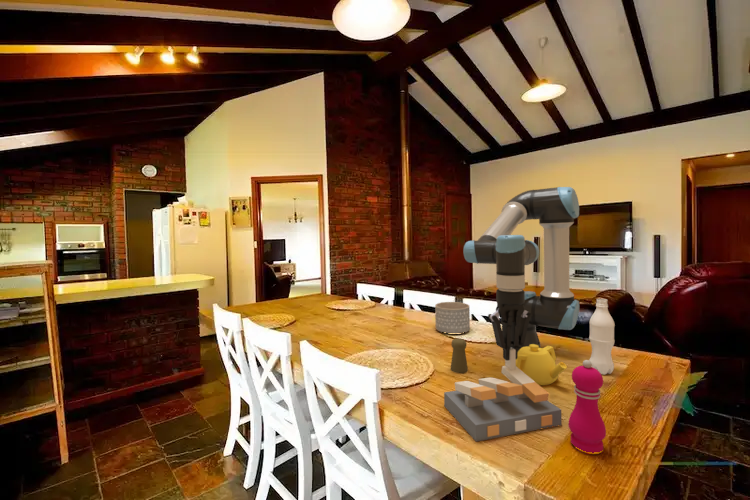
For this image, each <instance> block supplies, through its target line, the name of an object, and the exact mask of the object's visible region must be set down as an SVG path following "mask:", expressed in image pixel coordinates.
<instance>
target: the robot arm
mask: <svg viewBox="0 0 750 500" xmlns="http://www.w3.org/2000/svg"><path fill="white" fill-rule="evenodd" d="M579 216H580V203H579V198H578V194H577V191H576V190H575V189H574V187H572V186H557V187H550V188H549V187H548V188H540V189H529V190H526V191H523V192H520V193H519V194H517V195H515V196H514V197H512V198H511V199H509V200H508V201H507V202H506V203H505V204H504V205H503V207H502V208H501V213H500V214H499V215H498V216H497V217H496V219H494V221H493V222H492V223H491V224H490V225H489V227H488V228H487V229H486V230H485V231H484V233H482V235H481V236H480V237H479V238H478V240H475V239H473V240H468V241H466V242H465V243H464V245H463V250H462V251H463V257H464V259H465V261H466V262H467V263H472V264H476V265H477V264H478V265H479V264H480V265H481V264H482V265H483V264H486V265H487V264H488V265H495V267H496V270H495V271H496V275H495V276H496V278H495V279H496V282H495V284H496V288H497V289H496V291H495V293H496V296H495V298H496V299H495V300H496V304H497V305H496V308H495V311H494V312H492V313H489V314H488V316H487V317H488V318H489V321H491V326H492V330H493V335H494V339H495V343H496V344H495V345H496V346H497V347H500V348H502V358H503V359H504V366H506V367H508V368H509V369H510V370H516V359H517V358H518V351H519V350H520V349H521V348H522V347H526V346H529V345H530V344H535V345H538V346H539V348H542V347H541V346H542V345H541V342H540V338H539V336H538V333H537V326H539V327H546V328H552V329H558V330H565V331H571V330H573V329H574V328H575V326H576V324H577V321H578V317H579V312H580V301H579V300H578V299H575V293H573V292H572V291H571V290H570V227H571V226H572V225H573V224H574V223H575V221H574V220H575V219H577V218H578V217H579ZM529 220H539V221H538V223H539V226H541V227H542V229H543V278H544V281H543V282H544V283H543V286H544V287H543V288H544V289H543V290H542V291H540V293H539V296H538V295H537V294H536V292H535V291H531V290H529V291H525V288H526V281H525V280H526V279H525V277H526V275H525V274H526V273H525V270H526V266H529V265H532V264H534V263H535V262H536V261H537V260H538V258H539V256H540V248H539V246H538V244H536V243H535V242H534V241H532V240H528V239H525V236H524V235H523V234H513V232H514V231H515V229H516V228H517V227H518V225H520V224H522V223H524V222H525V221H529Z"/></svg>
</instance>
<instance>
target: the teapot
mask: <svg viewBox="0 0 750 500" xmlns="http://www.w3.org/2000/svg"><path fill="white" fill-rule="evenodd" d="M556 360H557V357H556V352H555V348H554V346H551V345H546V346H545V347H541V348H539V346H538V345H535V344H530V345H529V346H526V347H522V348H521V349H520V350H519V351H518V358H517V359H516V367H518V368H519V369H520V370H521V371H522V372H524V373H525V374H526V375H527V376H528V377H530V378H531V379H532V380H533V381H535V382H536V383H537V384H538V385H539V386H548V385H551V384H553V383H554V382H556V381H557V379H558V378H559V375H560V374H561V373H562V372H564V371H565V370H566V369H567V368H568V366H567V365H566V363H565V362H563V361H560V362H558V364H557V363H556Z"/></svg>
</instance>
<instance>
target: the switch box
mask: <svg viewBox="0 0 750 500" xmlns="http://www.w3.org/2000/svg"><path fill="white" fill-rule="evenodd" d="M510 382H511V381H510ZM511 383H512V382H511ZM443 398H444V399H443V403H444V407H445V408H446V410H447V411H448V412H449V413H450V414H451V415H452V416H453V418H454V419H455V420H456V421H457V422H458V424H460V425H461V427H462V428H463V429H464V430H465V432H466V433H468V435H469V436H470V437H471V439H473V440H474V441H475V442H480V441H481V442H482V441H487V440H491V439H496V438H497V439H498V438H502V437H506V436H507V437H508V436H512V435H518V434H522V433H527V432H532V431H538V430H537V429H539V430H542V429H541V428H544V429H548V428H547V427H549V428H553V427H552V426H554V427H559V426H562V409H561V408H560V407H558V406H557V405H555V404H553V403H552V402H551V401H549V400H547V401H541V402H535V403H534V402H533V401H532V400H531V399H530V398H529V397H528V396H527V395H526V394H525V393H523V394H519V395H513V396H507V395H504V394H501V393H498V392H496V398H494V399H488V400H479V399H477V398H474V397H472V396H469V395H467V394H464V393H462V392H459V391H456V390H451V391H445V392H444V393H443ZM558 425H559V426H558Z"/></svg>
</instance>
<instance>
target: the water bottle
mask: <svg viewBox="0 0 750 500" xmlns="http://www.w3.org/2000/svg"><path fill="white" fill-rule="evenodd" d="M595 307H596V309H595V310H594V312H593V313H592V315H591V317H590V318H589V337H588V339H589V341H590V345H591V354H590V358H589V359H588V360H589V361H590V362H591V363H592V366H591V367H593V368H595V369H597V370H598V371H599V372H600V373H601V375H602V376H604V375H605V376H606V375H607V374H609V375H611V374H612V373H613V371H614V369H615V363H614V361H613V359H612V350H613V347H614V345H615V326H616V325H615V321H614V319H613V317H612V316H611V314H610V311H609V309H608V308H609V304H608V299H607V298H596V304H595Z"/></svg>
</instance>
